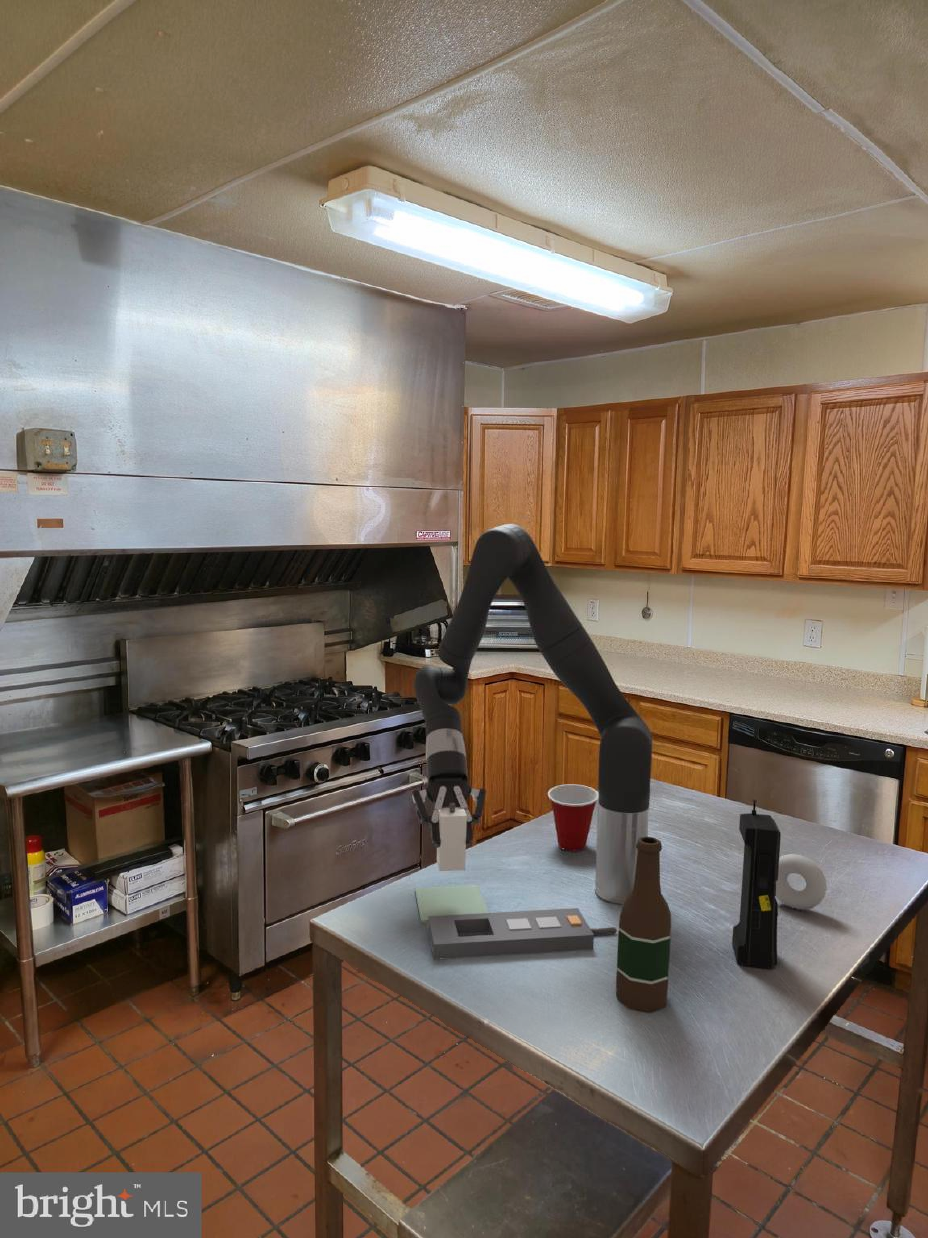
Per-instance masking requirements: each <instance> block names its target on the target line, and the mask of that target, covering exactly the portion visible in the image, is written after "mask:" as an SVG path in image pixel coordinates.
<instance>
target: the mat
mask: <svg viewBox="0 0 928 1238" xmlns="http://www.w3.org/2000/svg"><path fill="white" fill-rule="evenodd" d="M414 893H415V897H416V902H417V908H418V909H417V910H418V915H419V919H420V923H421V924H428V916H442V915H460V914H478V913H489V911H488V908H487V905H486V902H485V899H484V896H483V893H482V890H481V888H480V885H457V886H438V887H417V888H415V889H414Z"/></svg>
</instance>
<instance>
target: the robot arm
mask: <svg viewBox="0 0 928 1238" xmlns="http://www.w3.org/2000/svg"><path fill="white" fill-rule="evenodd" d="M507 578H508V579H509V581H510V582H511V583H512V585H513V587H514V589H516V591H517V593H518V594H519V596H520V598H521V599H522V603H523V605H524V608H525V611H526V615H527V619H528V622H529V626H530V627H529V628H530V631H531V634H532V637H533V640H534V642H535V644H536V646H537V648H538V650H539V652H540V653H541V655H542V657H543V658H544V660H545V662H546V663H547V665H548V666H549V668H550V669H551V670H552V672H553V673H554V675H555V677H557V678H558V680H559V681H560V682H561V683H562V684H563V685H564V686H565V687H566V688H567V689H568V690H569V692H571V693H572V694H573V696H575V697H576V698H577V699H578V700H579V702H580V703H581V704H582V706H583V707H584V708H585V709H586V711H587V713H588V714H589V717H590V718H591V720H592V722H593V724H594V726H595V728H596V730H597V731H598V733H599V736H600V740H599V741H600V742H599V751H598V775H597V776H598V778H597V783H598V784H597V790H598V791H597V792H598V794H599V797H598V800H597V802H598V805H597V807H598V808H597V827H596V828H597V829H596V851H595V852H596V853H595V854H596V855H595V878H594V883H595V884H594V891H595V894H596V895H597V896H598V897H599V898H601V899H603V900H604V901H607V902H610V903H614V904H618V905H619V904H620V905H621V904H622V905H623V903H624V901H625V899H626V897H627V896H628V894H629V893H630V892H631V891H632V890H633V887H634V881H635V871H636V862H637V853H638V849H637V848H636V844H637V841H638V838H641V837H649V815H650V800H651V799H650V797H651V777H652V776H651V775H652V758H653V757H652V755H653V736H652V732H651V730H650V728H649V726H648V724H647V723H646V722H645V721H644V720H643V718H642V717H641V716H640V715H639V713H638V712H637V711H636V710H635V708H634V707H633V706H632V705H631V703H630V702H629V701H628V699H627V698H626V697H625V696H624V694H623V693H622V691H621V690H620V689H619V687H618V686H617V683H616V682H615V680H614V678H613V676H612V674H611V672H610V670H609V669H608V666H607V665H606V662H605V661H604V659H603V657H602V656H601V654H600V652H599V651H598V649H597V646H596V645H595V643H594V642H593V640H592V638H591V636H590V635H589V634H588V632H587V629H585V627H584V626H583V623H582V622H581V620H579V619H580V618H578V616H577V615H576V614H575V612H574V610H573V609H572V607H571V606H570V604H569V602H568V601H567V600H566V598H565V597H564V595H563V593H562V592H561V591H560V588H559V587H558V586H557V585H556V583H555V581H554V580H553V577H552V576H551V574H550V572H549V570H548V568H547V566H546V564H545V562H544V560H543V558H542V556H541V554H540V552H539V549H538V548H537V546H536V544H535V542H534V540H533V538H532V537H531V535H530V534H529V532H528V531H527V530H525V528H523V527H522V526H519V525H517V524H514V523H505V524H502V525H498V526H496V527H492V528H490V529H487V530H486V531H484V532H483V533H482V534H481V535H480V536H479V537H478V539H477V541H476V543H475V545H474V548H473V552H472V556H471V559H470V563H469V567H468V571H467V574H466V578H465V581H464V585H463V588H462V591H461V595H460V597H459V600H458V603H457V605H456V608H455V611H454V612H453V614H452V618H451V619H450V620H449V624H448V625H447V628H446V631H445V632H444V635H443V636H442V639H441V641H440V644H439V645H438V649H437V655H438V658H439V660H440V661H441V662H443V664H445V665H446V666H449V667H450V668H451V669H449V668H445V667H440V666H435V665H423V666H422V667H420V668H419V669H418V671H417V672H416V674H415V677H414V680H413V689H414V694H415V697H416V700H417V702H418V706H419V708H420V711H421V714H422V716H423V719H424V722H425V723H424V724H425V738H426V739H425V740H426V742H425V761H426V774H427V775H426V776H427V777H426V779H427V785H426V787H425V789H422V790H418V789H414V790H413V792H412V796H411V800H412V803H413V805H414V809H415V812H416V814H417V817H418V821H419V824H420V825H422V826H428V827H429V828H430V836H431V837H430V838H431V843H432V845H435V848H436V849H437V848H438V847H440V845H441V839H440V830H439V823H438V819H439V814H438V809H439V810H441V808H449V806H450V803H455V807H460V808H461V809H464V810H465V813H466V815H467V824H466V848H467V847H469V846H470V845H471V844H472V842H473V839H474V835H473V834H474V833H473V825H475V824H477V825H478V824H479V823H480V821H481V818H482V814H483V809H484V804H485V798H486V794H487V790H486V789H485V788H483V787H482V788H480V789H476V788H472V785H471V784H470V782H469V776H468V767H467V766H468V765H467V756H466V755H467V753H466V745H465V741H464V735H463V727H462V717H461V713H460V712H459V710H458V709H457V708H455V707H454V705H456V704H458V703H460V702H461V701H463V699H464V698H465V695H466V692H467V687H468V679H469V673H470V669H471V663H472V661H473V659H474V656H475V654H476V652H477V650H478V648H479V646H480V644H481V641H482V639H483V636H484V634H485V631H486V628H487V622H488V617H489V613H490V608H491V606H492V603H493V600H494V598H495V597H496V594H497V593H498V591H499V590H500V588H501V587H502V585H503V584H504V583H505V581H506V580H507ZM470 796H471V797H472V799H473V802H475V809H474V814H471V813H470V810H469V806H468V803H467V800H468V799H469V797H470ZM426 797H427V798H428V799H429V800H430V801H431V803H432V804H433V805H434V809H433V813H432V816H431V815H428V812H427V810H426V807H425V801H426Z"/></svg>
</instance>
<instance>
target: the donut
mask: <svg viewBox="0 0 928 1238" xmlns="http://www.w3.org/2000/svg"><path fill="white" fill-rule="evenodd" d="M791 874H797V875H800V876H801V877H802V878H803V879H804V881H805V884H806V885H805V887H804V889H799V890H798V889H795V888H793V887H792V886H791V885H790V883H789V881H788V877H789V876H790V875H791ZM827 888H828V887H827V879H826V877H825V874H824V872H823V871H822V869H821V868H820V867H819V865H818V864H817V862H816V863H815V861H813V860H812V859H810V858H809V857H807V856H804V855H801V854H798V853H797V854H796V853H789V854H784V855H781V856H779V870H778V880H777V881H776V896H775V898H776V900H777V901H780V902H781V903H782V904H783V905H785V906H787V907H789V906H790V907H789V908H791V907H792V909H794V908H796V909H795V910H800V909H801V911H806V910H810V909H814V908H815V907H817V906H819V905H820V904H821V903H822V901H824V899H825V896H826V893H827Z"/></svg>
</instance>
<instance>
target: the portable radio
mask: <svg viewBox="0 0 928 1238" xmlns="http://www.w3.org/2000/svg"><path fill="white" fill-rule="evenodd" d="M757 801H758V800H757V799H752V802H753V807H752V809H751V813H749V812H747V813H740V814H739V826H738V827H739V828H738V829H739V832H740V835H741V838H742V839H743V843H744V847H743V861H742V863H743V864H742V877H741V878H742V879H741V880H742V881H741V896H740V910H739V922H738V923H737V924H736V925H734V926H733V927H732V936H731V937H732V942H731V945H732V948H733V949H732V950H733V952H734V958H735V960H736V961H735V962H736V963H737V964H740V965H743V966H746V967H747V966H749V967H755V968H763V969H769V970H771V969H772V970H773V969H774V968H775V966H777V965H778V917H779V908H778V907H779V904H778V900H777V897H776V881H777V880H778V870H779V857H780V854H781V853H780V852H781V851H780V850H781V836H782V835H781V831H780V829H779V827H778V825H777V823H776V820H775V819H774V818H772V815H770V814H761V813H760V814H759V813H757V810H756V805H757V803H756V802H757Z"/></svg>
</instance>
